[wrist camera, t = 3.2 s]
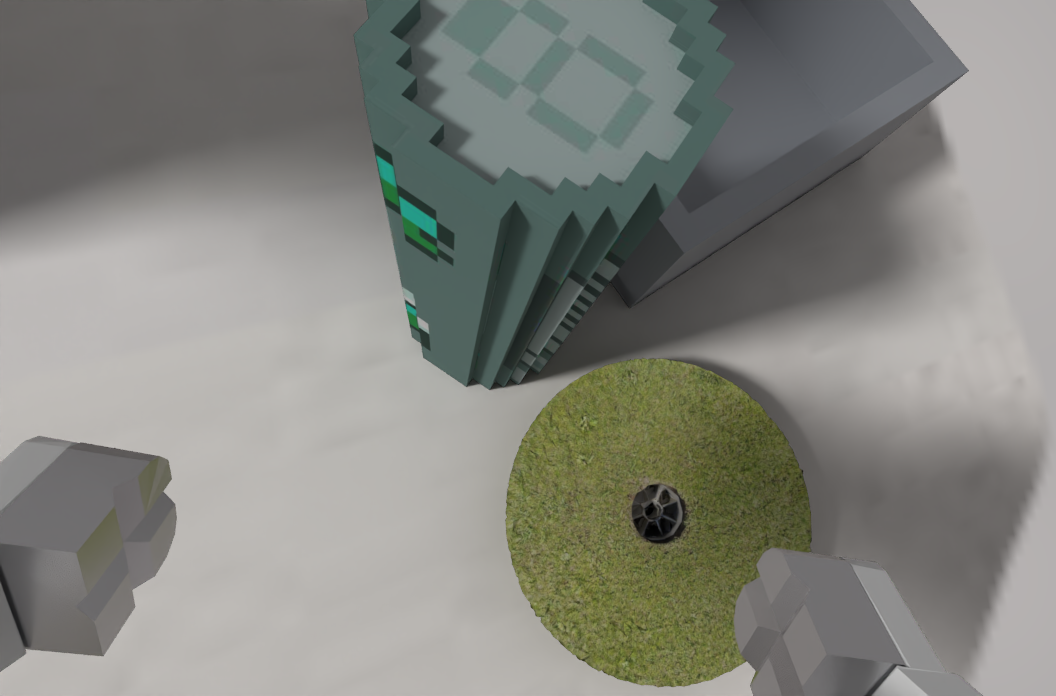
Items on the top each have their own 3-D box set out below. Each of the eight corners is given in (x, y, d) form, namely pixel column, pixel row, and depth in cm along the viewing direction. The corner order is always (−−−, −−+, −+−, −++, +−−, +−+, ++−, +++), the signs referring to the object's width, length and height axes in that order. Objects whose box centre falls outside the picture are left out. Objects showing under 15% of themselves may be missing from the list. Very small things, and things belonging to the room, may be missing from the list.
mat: (618, 312, 25) (632, 298, 23) (835, 488, 25) (867, 488, 23) (438, 536, 22) (437, 539, 21) (679, 740, 22) (702, 764, 20)
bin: (446, 50, 27) (446, -71, 21) (686, -66, 30) (743, -198, 25) (629, 308, 25) (684, 253, 20) (863, 155, 29) (968, 70, 23)
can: (469, 212, 26) (502, -157, 11) (591, 294, 25) (785, 29, 11) (380, 328, 24) (282, 72, 9) (509, 416, 24) (611, 293, 9)
